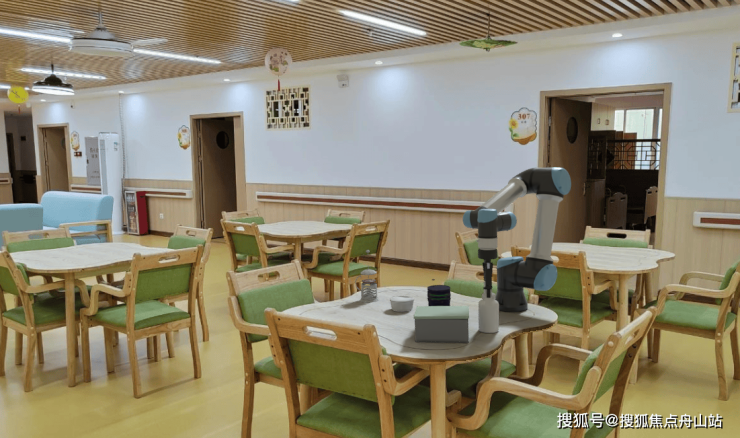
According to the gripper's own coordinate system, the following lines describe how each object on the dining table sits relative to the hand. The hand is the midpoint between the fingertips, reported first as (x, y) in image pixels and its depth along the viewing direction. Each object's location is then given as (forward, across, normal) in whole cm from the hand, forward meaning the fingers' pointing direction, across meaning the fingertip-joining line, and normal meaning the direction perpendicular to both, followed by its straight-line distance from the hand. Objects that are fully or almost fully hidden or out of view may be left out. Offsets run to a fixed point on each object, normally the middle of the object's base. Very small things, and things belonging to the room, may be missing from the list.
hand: (487, 301), depth 232 cm
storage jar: (+12, -11, -20) cm, 26 cm away
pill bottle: (+12, 0, 0) cm, 12 cm away
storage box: (+12, +9, -18) cm, 23 cm away
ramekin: (+12, -31, -38) cm, 50 cm away
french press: (+12, -48, -57) cm, 75 cm away
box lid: (+3, +9, -18) cm, 20 cm away
